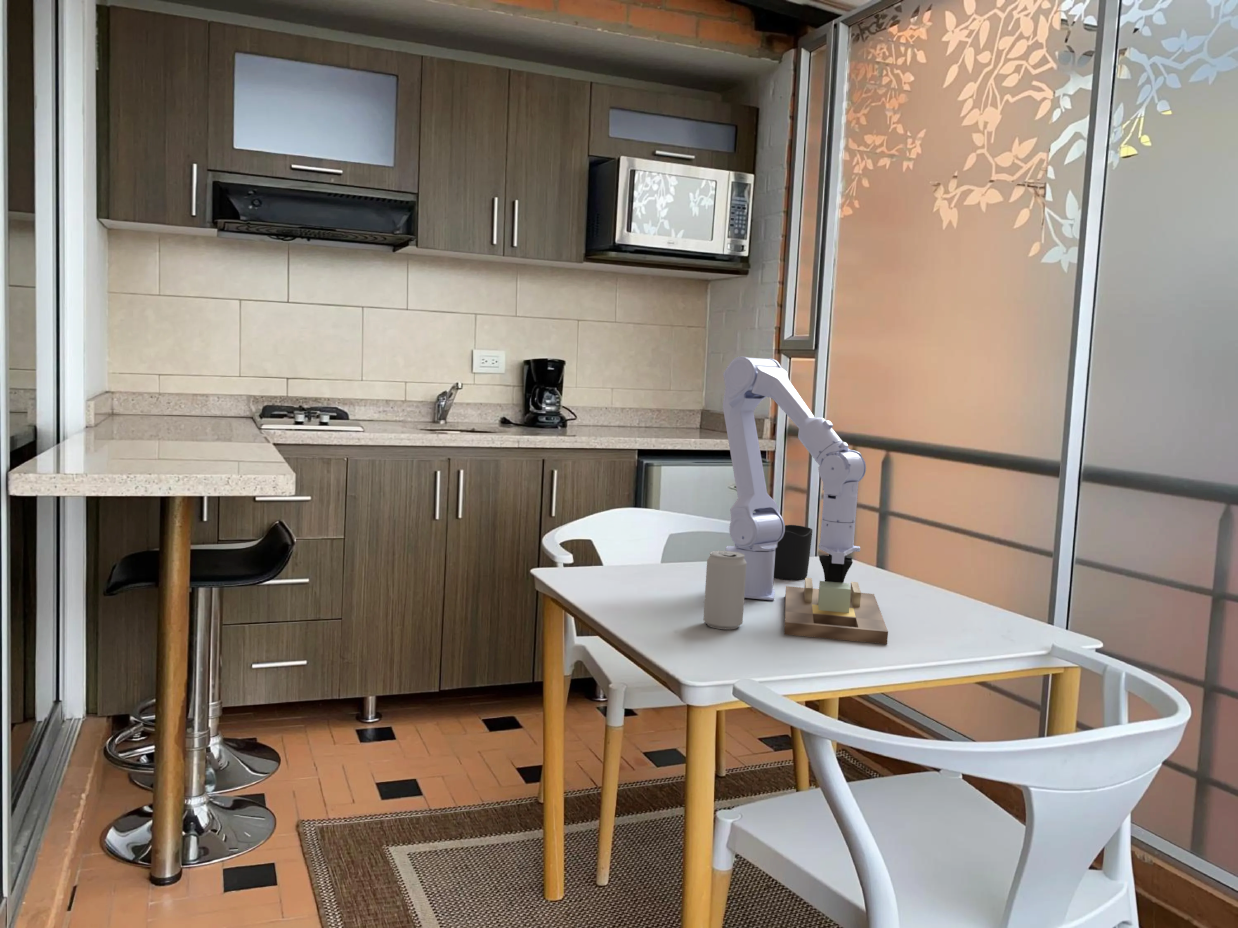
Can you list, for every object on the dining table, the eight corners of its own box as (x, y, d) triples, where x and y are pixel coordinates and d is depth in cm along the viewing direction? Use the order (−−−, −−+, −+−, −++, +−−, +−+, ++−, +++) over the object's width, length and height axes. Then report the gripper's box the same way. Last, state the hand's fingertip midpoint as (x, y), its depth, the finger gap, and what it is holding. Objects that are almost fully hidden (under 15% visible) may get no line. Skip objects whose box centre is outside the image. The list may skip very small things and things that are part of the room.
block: (818, 609, 175) (820, 586, 175) (817, 603, 180) (819, 580, 180) (849, 612, 174) (850, 589, 174) (847, 606, 179) (849, 583, 179)
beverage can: (716, 631, 165) (721, 557, 164) (695, 621, 171) (700, 550, 169) (749, 629, 168) (755, 556, 167) (728, 619, 174) (732, 548, 172)
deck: (784, 634, 166) (786, 606, 165) (785, 596, 193) (787, 572, 193) (887, 644, 163) (889, 616, 163) (873, 604, 191) (875, 580, 190)
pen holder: (808, 582, 207) (812, 533, 206) (761, 578, 209) (764, 529, 208) (809, 573, 216) (813, 526, 215) (764, 569, 218) (767, 522, 217)
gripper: (865, 528, 172) (858, 608, 173) (859, 516, 186) (853, 590, 187) (822, 525, 173) (816, 604, 174) (819, 513, 187) (813, 587, 189)
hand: (832, 597), depth 181 cm, fingers closed
